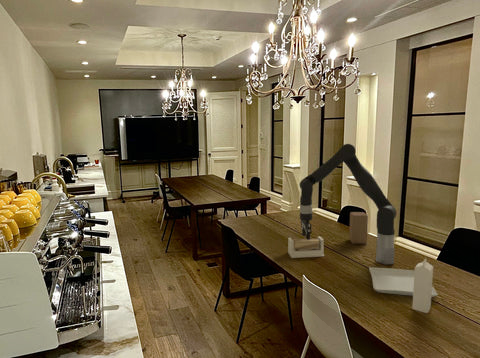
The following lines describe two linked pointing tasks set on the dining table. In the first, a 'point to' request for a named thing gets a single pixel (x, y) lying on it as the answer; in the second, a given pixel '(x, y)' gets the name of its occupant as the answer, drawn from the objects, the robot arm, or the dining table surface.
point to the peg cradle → (306, 250)
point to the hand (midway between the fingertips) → (306, 237)
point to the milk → (422, 287)
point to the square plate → (394, 281)
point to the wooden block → (358, 227)
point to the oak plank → (306, 244)
